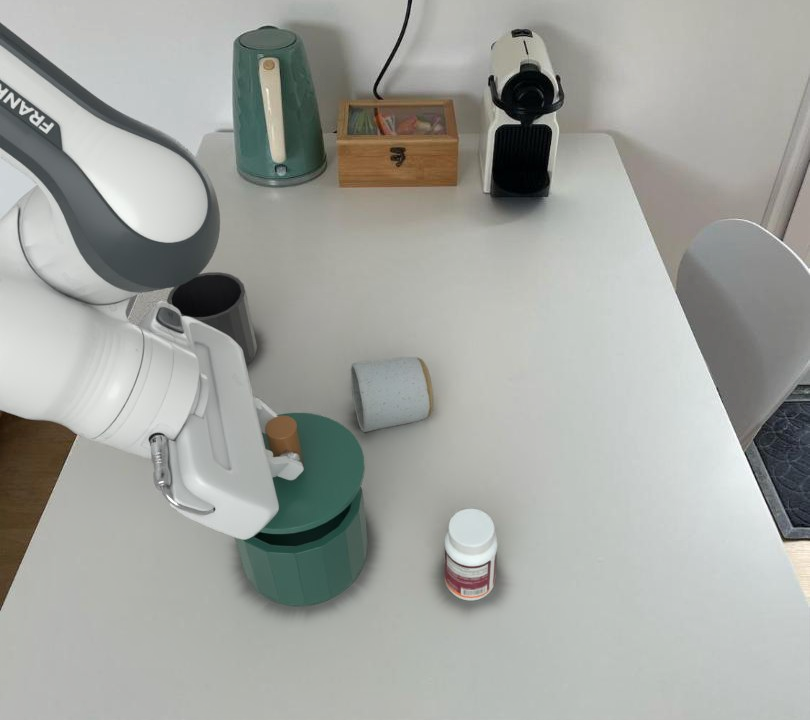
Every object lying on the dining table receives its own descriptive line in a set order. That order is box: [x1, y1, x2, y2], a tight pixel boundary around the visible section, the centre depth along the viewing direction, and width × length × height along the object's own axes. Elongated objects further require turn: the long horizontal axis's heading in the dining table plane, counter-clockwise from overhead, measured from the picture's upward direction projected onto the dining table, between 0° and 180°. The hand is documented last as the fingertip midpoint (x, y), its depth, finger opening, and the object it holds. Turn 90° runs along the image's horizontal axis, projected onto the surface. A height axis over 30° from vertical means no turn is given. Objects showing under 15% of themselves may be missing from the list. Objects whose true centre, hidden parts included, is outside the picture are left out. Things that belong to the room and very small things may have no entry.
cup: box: [166, 271, 258, 367], centre depth 98 cm, size 9×9×9 cm
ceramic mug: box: [350, 356, 434, 433], centre depth 90 cm, size 11×8×8 cm
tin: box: [234, 486, 369, 607], centre depth 76 cm, size 12×12×8 cm
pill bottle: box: [443, 507, 499, 601], centre depth 73 cm, size 5×5×8 cm
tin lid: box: [260, 412, 366, 534], centre depth 68 cm, size 13×13×6 cm
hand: (293, 451), depth 69 cm, fingers closed on tin lid, 2 cm apart
